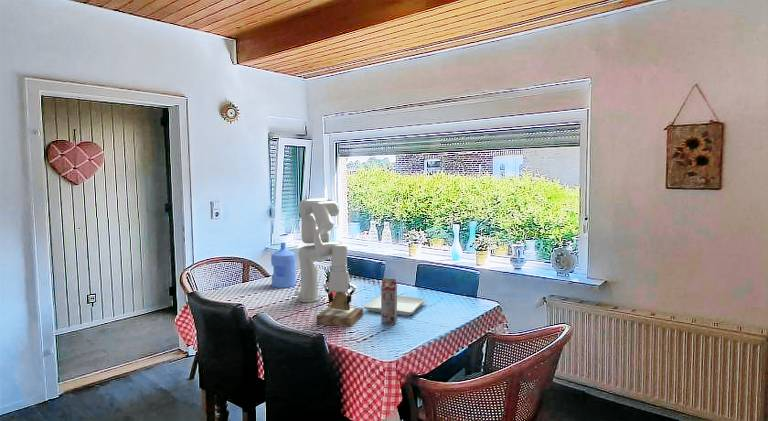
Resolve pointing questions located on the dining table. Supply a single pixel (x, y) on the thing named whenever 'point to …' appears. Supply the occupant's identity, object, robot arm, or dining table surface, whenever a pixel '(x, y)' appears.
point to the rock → (340, 301)
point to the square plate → (403, 305)
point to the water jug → (283, 268)
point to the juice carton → (388, 301)
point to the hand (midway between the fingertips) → (339, 302)
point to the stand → (339, 316)
